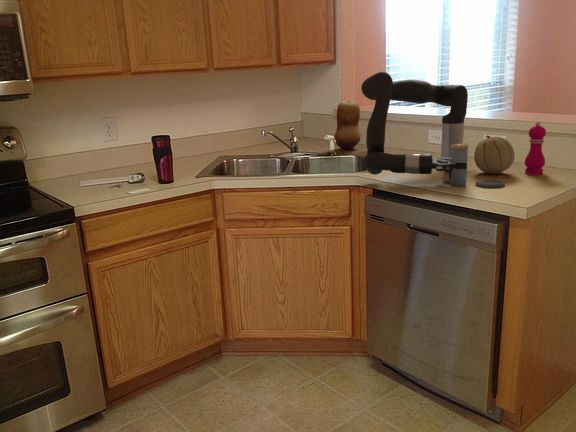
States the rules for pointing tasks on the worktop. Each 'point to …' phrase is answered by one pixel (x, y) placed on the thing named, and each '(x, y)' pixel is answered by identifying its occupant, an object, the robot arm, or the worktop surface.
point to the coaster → (490, 184)
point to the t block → (447, 176)
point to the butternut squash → (347, 125)
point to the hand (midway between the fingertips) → (466, 164)
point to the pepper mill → (535, 151)
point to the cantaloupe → (494, 155)
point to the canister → (459, 157)
